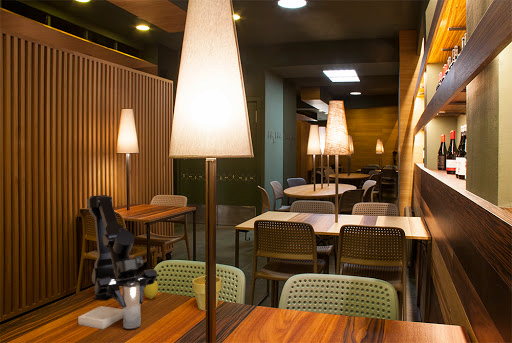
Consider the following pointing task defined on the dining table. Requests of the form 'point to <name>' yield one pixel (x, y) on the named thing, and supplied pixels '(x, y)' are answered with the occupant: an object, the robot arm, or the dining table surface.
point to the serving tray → (101, 317)
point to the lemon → (151, 290)
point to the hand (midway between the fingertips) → (132, 305)
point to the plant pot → (199, 290)
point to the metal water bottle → (131, 305)
